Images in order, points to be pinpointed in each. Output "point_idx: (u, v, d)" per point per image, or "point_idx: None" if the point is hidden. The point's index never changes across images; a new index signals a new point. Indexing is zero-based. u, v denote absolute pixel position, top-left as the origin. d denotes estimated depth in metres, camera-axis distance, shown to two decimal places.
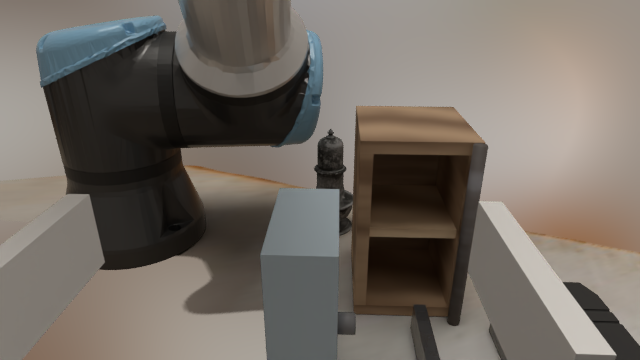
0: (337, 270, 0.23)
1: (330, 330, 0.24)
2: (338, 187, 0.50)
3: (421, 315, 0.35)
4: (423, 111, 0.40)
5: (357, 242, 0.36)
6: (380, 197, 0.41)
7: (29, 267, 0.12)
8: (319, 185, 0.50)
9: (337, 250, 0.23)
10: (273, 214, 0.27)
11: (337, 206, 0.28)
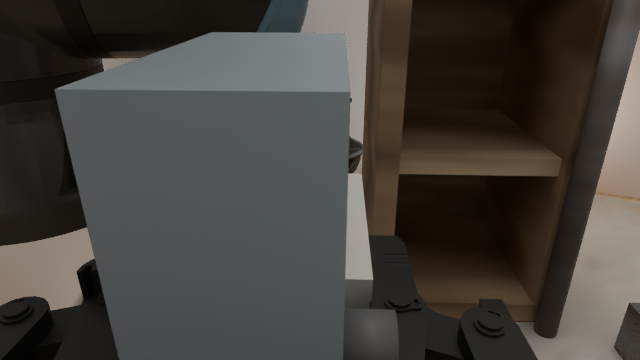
0: (344, 151, 0.06)
1: None
2: None
3: None
4: None
5: (376, 183, 0.20)
6: (410, 121, 0.25)
7: None
8: None
9: (344, 83, 0.06)
10: (171, 47, 0.10)
11: (341, 42, 0.11)
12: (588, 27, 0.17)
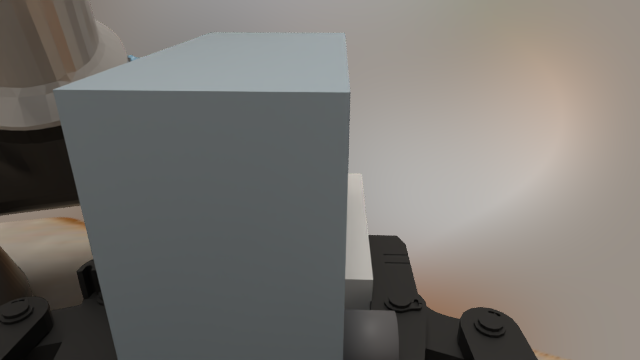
0: (344, 152, 0.06)
1: None
2: None
3: None
4: None
5: None
6: None
7: None
8: None
9: (344, 83, 0.06)
10: (170, 48, 0.10)
11: (341, 43, 0.11)
12: None
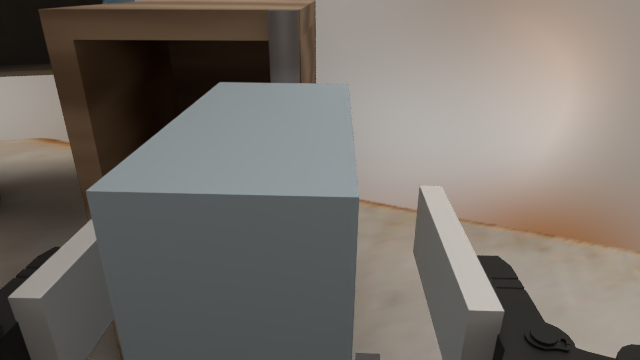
0: (353, 247, 0.07)
1: None
2: None
3: None
4: (253, 1, 0.23)
5: None
6: None
7: None
8: None
9: (352, 181, 0.07)
10: (184, 113, 0.10)
11: (346, 103, 0.11)
12: None
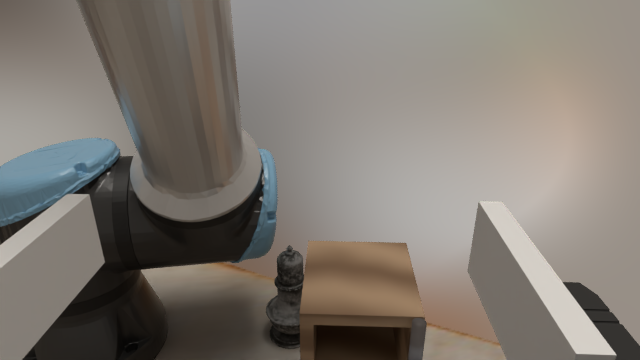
0: None
1: None
2: (298, 300, 0.50)
3: None
4: (374, 252, 0.40)
5: None
6: (332, 334, 0.41)
7: (29, 267, 0.12)
8: (280, 298, 0.50)
9: None
10: None
11: None
12: (406, 333, 0.33)
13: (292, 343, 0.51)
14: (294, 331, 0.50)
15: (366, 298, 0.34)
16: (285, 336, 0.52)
